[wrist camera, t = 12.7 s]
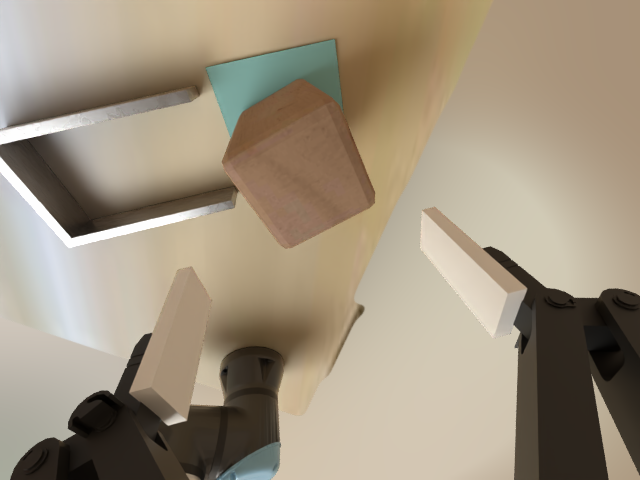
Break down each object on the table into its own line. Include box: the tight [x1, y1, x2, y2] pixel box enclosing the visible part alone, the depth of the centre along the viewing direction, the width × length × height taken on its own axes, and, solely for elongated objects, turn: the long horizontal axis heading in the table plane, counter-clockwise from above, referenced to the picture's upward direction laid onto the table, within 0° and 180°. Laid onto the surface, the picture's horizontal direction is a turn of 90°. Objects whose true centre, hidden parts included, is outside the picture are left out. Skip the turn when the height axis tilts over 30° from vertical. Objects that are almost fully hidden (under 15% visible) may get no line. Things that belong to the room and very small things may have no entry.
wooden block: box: [222, 79, 375, 248], centre depth 30 cm, size 10×10×20 cm
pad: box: [206, 39, 344, 137], centre depth 38 cm, size 18×16×1 cm
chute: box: [0, 86, 237, 247], centre depth 36 cm, size 15×23×5 cm, turn 100°
